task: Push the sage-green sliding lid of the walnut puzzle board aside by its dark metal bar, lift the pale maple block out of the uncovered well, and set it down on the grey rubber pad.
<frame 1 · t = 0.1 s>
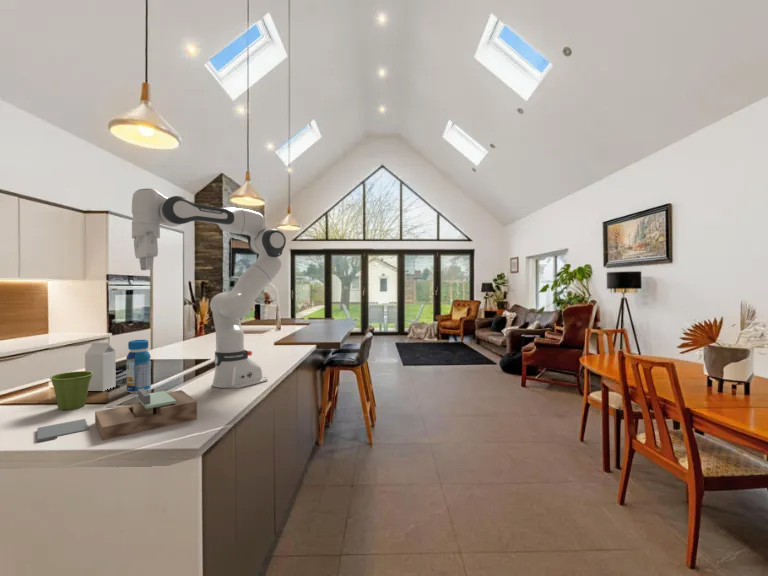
hand: (146, 270, 141), 48 cm above the countertop, tool pointing down, fingers open, 8 cm apart
beverage bottle: (138, 391, 152), on the countertop
plant pot: (72, 407, 132), on the countertop
sliding lid: (155, 395, 119), point 8 cm above the countertop, slide at 0.0 cm
rubber pad: (63, 431, 111), on the countertop
puzzle board: (146, 422, 117), on the countertop
maple block: (143, 421, 117), resting on puzzle board
milk carton: (100, 390, 153), on the countertop
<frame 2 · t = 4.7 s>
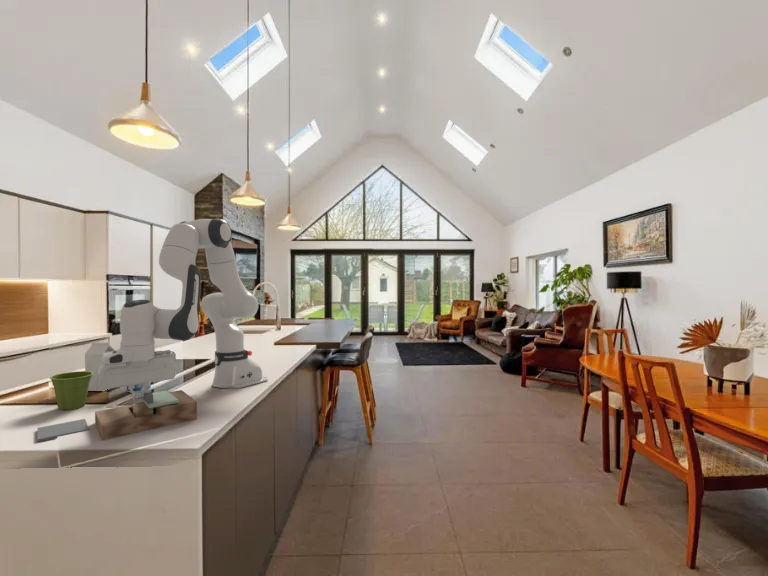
hand: (138, 398, 116), 8 cm above the countertop, tool pointing down, fingers closed
sliding lid: (158, 394, 120), point 8 cm above the countertop, slide at 0.8 cm, touching gripper
everything else where it was.
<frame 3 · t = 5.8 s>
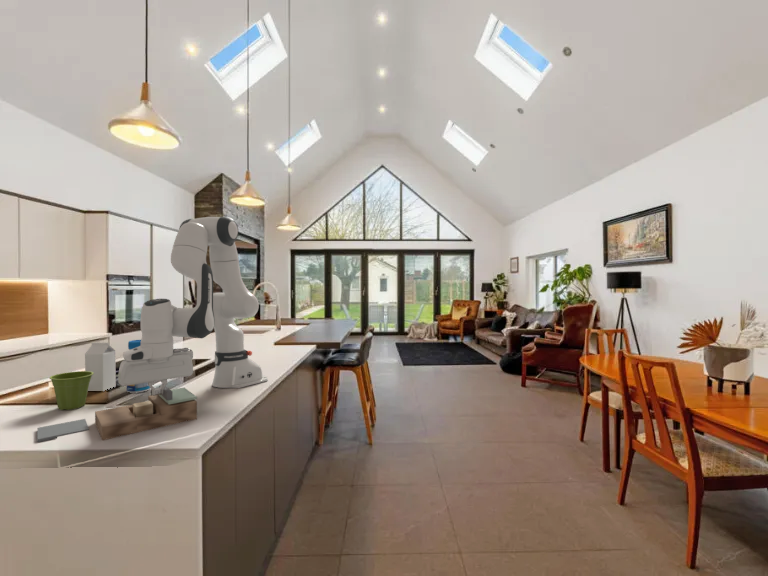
hand: (157, 394, 119), 8 cm above the countertop, tool pointing down, fingers closed
sliding lid: (176, 391, 123), point 8 cm above the countertop, slide at 6.0 cm, touching gripper
everything else where it was.
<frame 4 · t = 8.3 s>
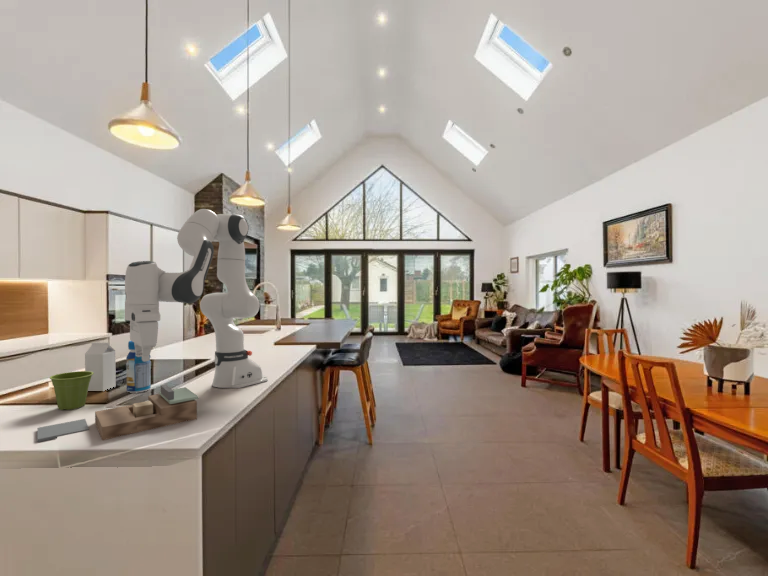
hand: (142, 358, 116), 20 cm above the countertop, tool pointing down, fingers open, 8 cm apart
sliding lid: (178, 391, 123), point 8 cm above the countertop, slide at 6.4 cm
everything else where it was.
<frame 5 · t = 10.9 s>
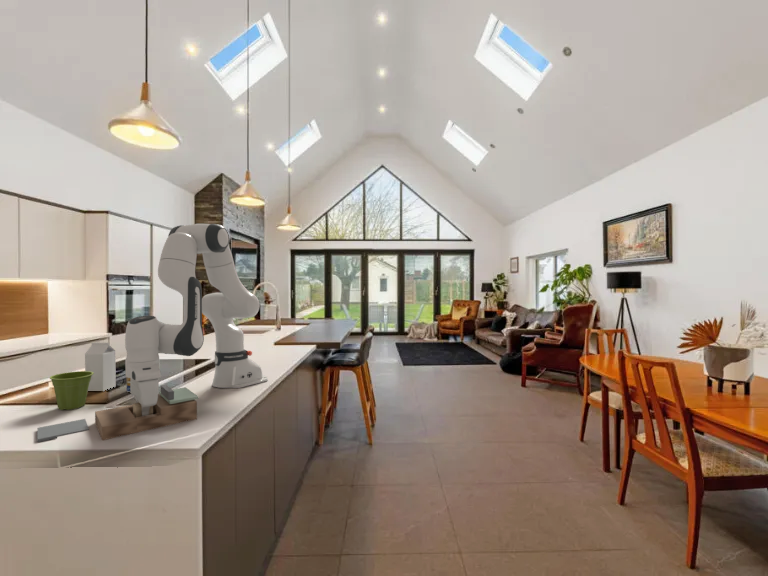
hand: (143, 414, 117), 3 cm above the countertop, tool pointing down, fingers closed on maple block, 4 cm apart
maple block: (143, 421, 117), resting on puzzle board, touching gripper
everything else where it was.
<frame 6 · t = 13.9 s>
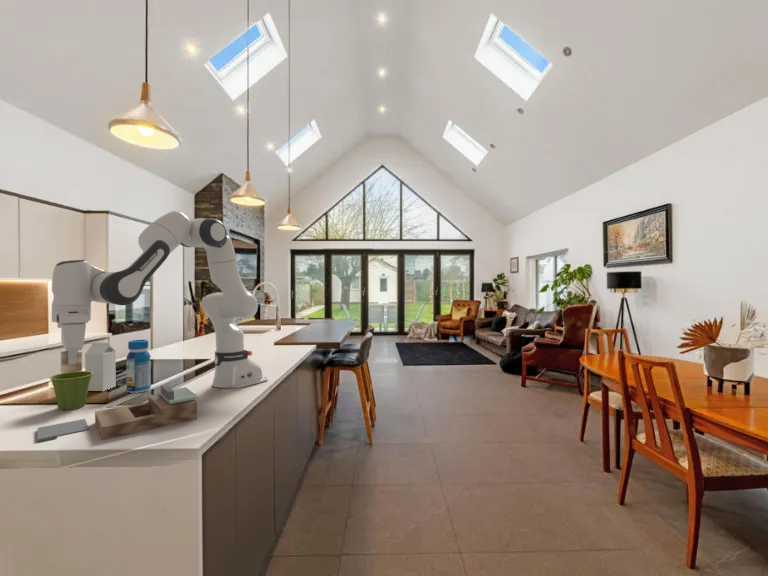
hand: (71, 362, 111), 20 cm above the countertop, tool pointing down, fingers closed on maple block, 4 cm apart
maple block: (71, 370, 111), point 18 cm above the countertop, touching gripper
everything else where it was.
when the fingers open (4 cm above the countertop, at t = 17.4 s): maple block drops 1 cm, resting on rubber pad.
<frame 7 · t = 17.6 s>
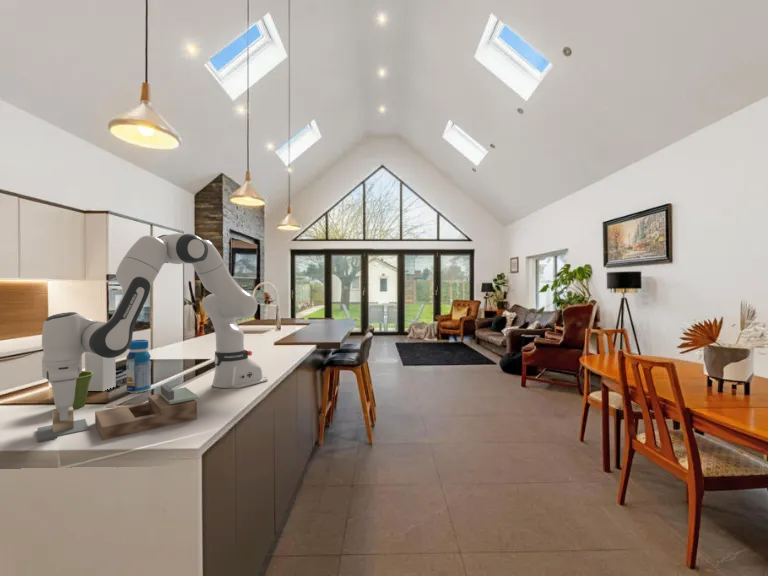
hand: (63, 416, 111), 4 cm above the countertop, tool pointing down, fingers open, 6 cm apart
maple block: (63, 428, 111), point 1 cm above the countertop, touching rubber pad
everything else where it was.
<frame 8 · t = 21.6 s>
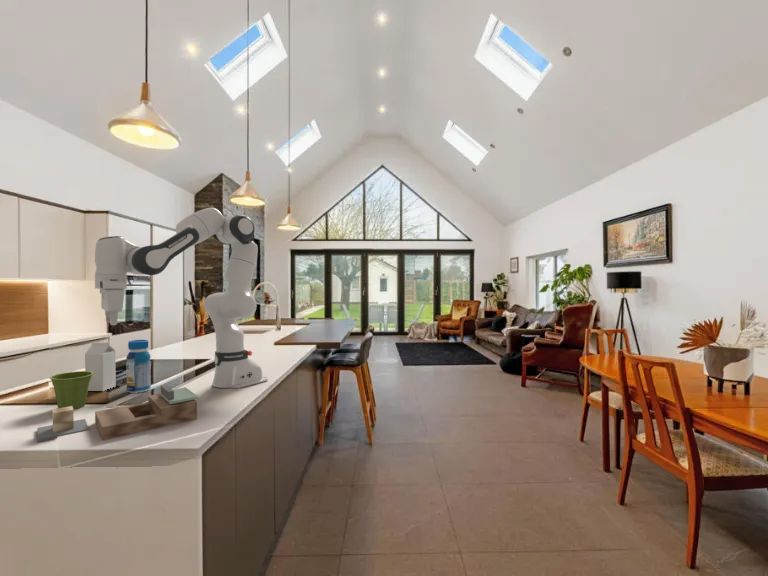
hand: (111, 323, 130), 29 cm above the countertop, tool pointing down, fingers open, 8 cm apart
nothing on the countertop moved.
at the end: sliding lid slide at 6.4 cm; maple block inside the target area on the rubber pad (0.0 cm from its centre), point 0.8 cm above the rubber pad's base; maple block tilted 0° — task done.
